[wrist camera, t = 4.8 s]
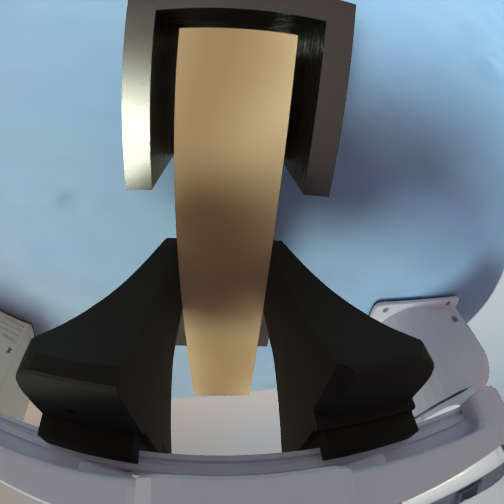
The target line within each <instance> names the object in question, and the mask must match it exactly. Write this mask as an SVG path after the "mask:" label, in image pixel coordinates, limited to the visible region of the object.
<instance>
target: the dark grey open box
mask: <svg viewBox="0 0 504 504" xmlns="http://www.w3.org/2000/svg"><path fill="white" fill-rule="evenodd" d="M355 11H356V5H355V4H352V3H348V2H345V1H341V0H128V6H127V14H126V24H125V34H124V47H123V65H122V138H123V157H124V172H125V184H126V190H152V189H153V187H154V185H155V184H156V182H157V180H158V179H159V177H160V175H161V174H162V172H163V171H164V169H165V167H166V166H167V164H168V163H169V161H170V160H171V158H172V157H173V155H174V116H175V86H176V67H177V52H178V40H179V28H237V29H251V30H262V31H271V32H279V33H286V34H293V35H298V39H297V49H296V59H295V68H294V77H293V87H292V95H291V104H290V113H289V121H288V130H287V138H286V146H285V154H284V162H283V163H284V165H285V166H286V168H287V169H288V171H289V172H290V174H291V176H292V177H293V179H294V180H295V182H296V183H297V185H298V187H299V188H300V190H301V191H302V193H303V195H315V196H327V197H329V193H330V188H331V183H332V178H333V172H334V167H335V162H336V156H337V151H338V145H339V139H340V133H341V127H342V121H343V114H344V108H345V101H346V94H347V86H348V79H349V71H350V63H351V54H352V44H353V34H354V23H355Z"/></svg>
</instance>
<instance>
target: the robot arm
mask: <svg viewBox="0 0 504 504" xmlns="http://www.w3.org/2000/svg"><path fill="white" fill-rule="evenodd" d="M458 302H459V298H458V297H457V296H452V297H441V298H431V299H419V300H406V301H392V302H379V303H377V304H376V305H374V307H373V309H372V311H371V313H370V315H369V316H368V315H367V314H365V313H364V312H362V311H360V310H359V309H357V308H355V307H354V306H352V305H351V304H349V303H348V302H346V301H345V300H344V299H342V298H341V297H340V296H338V295H337V294H336V293H334V292H333V291H332V290H331V289H329V288H328V287H327V286H326V285H325V284H324V283H322V282H321V281H320V280H319V279H318V278H317V277H316V276H315V275H314V274H313V273H311V272H310V271H309V270H308V269H307V268H306V267H305V266H304V265H303V264H302V263H301V261H300V260H299V259H298V258H297V257H296V256H295V255H294V254H293V253H292V252H291V251H290V250H289V249H288V248H287V246H286V245H285V244H284V243H283V242H282V241H273V245H272V252H271V259H270V266H269V272H268V279H267V286H266V293H265V300H264V306H263V312H264V317H265V321H266V326H267V330H268V334H269V339H270V343H271V347H272V352H273V357H274V363H275V372H276V381H277V391H278V402H279V414H280V427H281V445H282V453H274V454H260V455H239V456H203V455H199V456H198V455H180V454H172V453H171V384H172V366H173V356H174V349H175V344H176V339H177V334H178V329H179V324H180V319H181V314H182V309H183V308H182V298H181V287H180V276H179V263H178V249H177V238H166V239H165V240H164V241H163V242H162V244H161V245H160V246H159V247H158V248H157V249H156V250H155V251H154V253H153V254H152V255H151V256H150V257H149V258H148V259H147V260H146V261H145V262H144V263H143V264H142V265H141V267H140V268H139V269H138V270H137V271H136V272H135V273H134V274H132V275H131V276H130V277H129V278H128V279H127V280H126V281H125V282H124V283H123V284H122V285H121V286H119V287H118V288H117V289H116V290H115V291H113V292H112V293H111V294H110V295H108V296H107V297H106V298H104V299H103V300H101V301H100V302H98V303H97V304H95V305H94V306H92V307H91V308H90V309H88V310H87V311H85V312H83V313H82V314H80V315H78V316H77V317H75V318H73V319H71V320H70V321H68V322H66V323H64V324H62V325H60V326H58V327H56V328H54V329H52V330H50V331H47V332H45V333H43V334H41V335H38V336H36V337H34V338H32V339H31V341H30V342H29V345H28V347H27V349H26V351H25V353H24V356H23V358H22V360H21V363H20V365H19V367H18V370H17V372H16V377H15V378H16V381H17V383H18V386H19V387H20V389H21V390H22V392H23V393H24V394H25V395H26V396H27V397H28V398H29V399H30V400H31V402H32V403H33V404H34V405H35V406H36V407H37V408H38V409H39V410H40V411H41V412H42V413H43V415H42V418H41V422H40V426H39V427H37V426H34V425H31V424H29V423H26V422H23V421H20V420H18V419H15V418H13V417H10V416H8V415H5V414H3V413H1V412H0V482H2V483H3V484H5V485H7V486H9V487H11V488H13V489H14V490H16V491H18V492H20V493H22V494H24V495H27V496H29V497H31V498H33V499H35V500H37V501H39V502H42V503H44V504H504V402H503V400H502V399H501V397H500V395H499V393H498V391H497V389H496V388H493V387H492V386H486V383H487V381H488V377H489V364H488V359H487V356H486V353H485V351H484V349H483V348H482V346H481V345H480V343H479V341H478V340H477V338H476V337H475V335H474V334H473V332H472V331H471V329H470V328H469V326H468V325H467V323H466V322H465V320H464V319H463V317H462V316H461V314H460V313H459V312H458V310H457V309H456V306H457V304H458ZM485 386H486V387H485ZM127 473H128V474H127ZM131 474H134V475H140V476H139V477H137V478H133V476H132V475H131Z"/></svg>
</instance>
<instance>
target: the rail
mask: <svg viewBox="0 0 504 504" xmlns="http://www.w3.org/2000/svg"><path fill="white" fill-rule="evenodd" d="M297 39H298V35H293V34H286V33H279V32H271V31H262V30H251V29H237V28H179V40H178V52H177V67H176V86H175V116H174V181H175V212H176V233H177V249H178V263H179V276H180V287H181V298H182V308H183V317H184V326H185V335H186V343H187V350H188V358H189V365H190V372H191V378H192V385H193V391H194V395H209V396H240V395H249V394H250V388H251V382H252V376H253V370H254V364H255V357H256V351H257V345H258V339H259V332H260V326H261V319H262V313H263V306H264V300H265V293H266V286H267V279H268V272H269V266H270V259H271V252H272V245H273V237H274V230H275V223H276V216H277V208H278V201H279V193H280V185H281V178H282V170H283V162H284V154H285V146H286V138H287V130H288V121H289V113H290V104H291V95H292V87H293V77H294V68H295V59H296V49H297Z"/></svg>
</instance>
